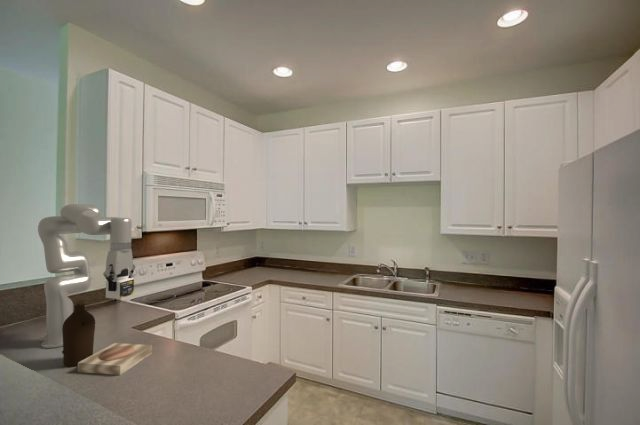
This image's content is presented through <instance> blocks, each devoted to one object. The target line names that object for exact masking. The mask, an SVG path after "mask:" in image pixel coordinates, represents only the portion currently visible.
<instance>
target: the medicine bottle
mask: <svg viewBox="0 0 640 425" xmlns="http://www.w3.org/2000/svg"><path fill="white" fill-rule="evenodd" d="M113 274H114V273H113ZM112 277H114V276H112ZM128 277H129V269H128V268H126V269H123V270H122V271H121V274H119V275H118V276H117V278H116V280H115V281H117V288H116V291H108V281H107V280H106V282H105V298H106V299H116V300H121V299H124V298H127V297H131V296H133V295H134V294H135V293H134V292H135V288H134V287H135V285H134V284H135V278H133V277H131V278H128Z"/></svg>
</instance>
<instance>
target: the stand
mask: <svg viewBox="0 0 640 425" xmlns="http://www.w3.org/2000/svg"><path fill="white" fill-rule="evenodd" d="M152 354H153V345H152V344H137V343H136V344H135V343H122V342H114V343H112V344H109V346H107V347H105V348H102V349H101V350H99V351H96V352H95V353H93V355H91V356H90V357H88V358H86V359H84V360H82V361H80V362H78V366H77V372H78V373H88V374H103V375H113V376H114V375H116V376H121V375H123V374H124V373H126V372H127V371H128V370H130V369H131V368H133V367H134V366H136V365H138V363H140V362H141V361H143V360H144V359H146V358H147V357H149V356H150V355H152Z"/></svg>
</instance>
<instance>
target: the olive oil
mask: <svg viewBox="0 0 640 425" xmlns="http://www.w3.org/2000/svg"><path fill="white" fill-rule="evenodd" d="M85 308H86V304H85V300H83V299H82V300H80V299H79V300H76V301H75V302H74V304H73V313H72V314H71V315H70V316H69V317H68V318H67V319H66V320H65V321H64V323H63V327H62V334H63V346H62V351H61V354H62V355H63V357H62V358H63V366H64V367H67V368H73V367H78V362H80V361H82V360H84V359H86V358H88V357H90V356H91V355H93V354H94V344H95V343H94V342H95V332H96V331H95V330H96V319H95V317H94V315H93V314H92V313H90V312H89V311H87V309H85Z"/></svg>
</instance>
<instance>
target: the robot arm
mask: <svg viewBox="0 0 640 425" xmlns="http://www.w3.org/2000/svg"><path fill="white" fill-rule="evenodd" d="M59 213H60V215H56V216H54V215H53V216H47V217H44V218H42V219H41V220H39V223H38V225H37V232H38V236H39V238H40V240H41V243H42V245H43V249H44V250H43V251H44V261H45V266H46V270H47V272H48V273H49V274H62V273H69V272H73V273H72V274H71V273H70V274H64V275H63V274H62V275H58V276H54V277H51V278H49V279H47V280H46V281H45V282H44V284H43V288H44V289H43V291H44V294H45V301H46V313H45V314H46V319H45V320H46V321H45V322H46V323H45V324H46V325H45V326H46V327H45V332H43V333H42V335H40V339H43V342H41V346H40V347H41V348H43V349H56V348H60V347H63V334H62V327H63V323H64V321H65V320H66V319H67V318H68V317H69V316H70V315H71V314H72V313H73V312H74V303H73V300H72V299H71V298H69V297H68V296H69V295H73V294H77V293H81V292H85V291H87V290H89V289H90V287H91V285H92V284H91V283H92V279H91V271H90V264H89V259H88V256H87V254H86V253H85V252H83V251H69V247H68V246H69V245H68V242H67V241H66V239H65V238H63V236H61V235H64V234H67V235H68V234H69V235H70V234H81V233H83V234H86V235H89V236H90V235H91V236H99V235H100V236H101V235H103V236H104V235H109V251H108V252H107V256H106V262H105V270H104V271H103V274H102V275H103V277H104V278H105V279H106V281H108V291H116V288H117V281H115V280H116V278H117V276H118V275H119V274H121V271H122V270H123V269H126V268H128V269H129V277H128V278H133V273H135V272H134V271H135V269H136V265H135V264H134V260H133V258H134V257H133V250H132V227H133V226H132V225H133V224H132V219H131V218H129V217H117V216H116V217H115V216H109V217H108V216H100V215H101V210H100V209H99V208H98V207H97V206H96V205H94V204H87V203H86V204H85V203H69V204H66V205H64V206H63V207H62V208H61V209H60V212H59ZM113 273H114V274H113ZM112 276H114V277H112Z"/></svg>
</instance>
